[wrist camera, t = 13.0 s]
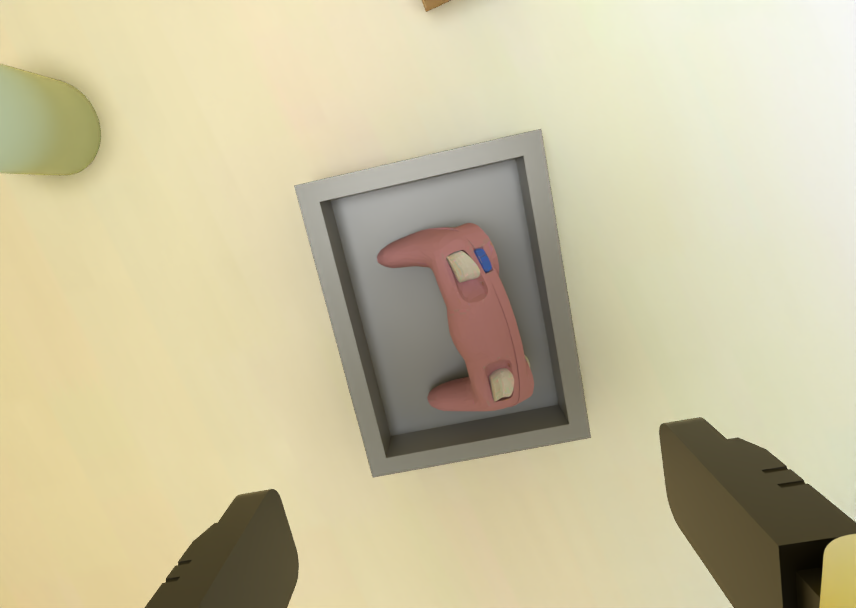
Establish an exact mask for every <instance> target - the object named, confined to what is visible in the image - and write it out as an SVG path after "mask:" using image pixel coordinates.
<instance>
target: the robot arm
mask: <svg viewBox="0 0 856 608" xmlns="http://www.w3.org/2000/svg"><path fill="white" fill-rule="evenodd" d="M659 435H660V444H661V452H662V460H663V468H664V476H665V484H666V492H667V498H668V502H669V505H670V508H671V511H672V514H673V516H674V519H675V521H676V523H677V525H678V526H679V528H680V530H681V531H682V532H683V534H684V535H685V537H686V538H687V540H688V541H689V543H690V544H691V546H692V547H693V549H694V550H695V551H696V553H697V554H698V556H699V557H700V559H701V560H702V562H703V563H704V565H705V566H706V568H707V569H708V571H709V572H710V573H711V575H712V576H713V578H714V579H715V581H716V582H717V584H718V585H719V587H720V588H721V590H722V591H723V592H724V594H725V595H726V597H727V598H728V600H729V601H730V603H731V604H732V606H733V607H734V608H856V522H854V521H853V520H852V519H851V518H850V517H848V516H847V515H846V514H845V513H843V512H842V511H841V510H840V509H839V508H837V507H836V506H835V505H834V504H832V503H831V502H830V501H829V500H827V499H826V498H825V497H824V496H823V495H821V494H820V493H819V492H818V491H816V490H815V489H814V488H813V487H812V486H810V485H809V484H805V483H804V480H803V479H802V478H801V477H799V476H798V475H797V474H796V473H794V472H793V471H792V470H791V469H790V470H788V469H787V466H786V465H785V464H783V463H782V462H781V461H780V460H778V459H777V458H776V457H775V456H774V455H772V454H771V453H770V452H769V451H767V450H766V449H764V448H761V447H759V446H757V445H754V444H752V443H750V442H747V441H745V440H743V439H740V438H733V439H726V438H725V437H724V436H723V435H721V434H720V433H719V432H718V431H717V430H716V429H715V428H714V427H713V426H711V425H710V424H709V423H708V422H707V421H706V420H705V419H703V418H701V417H699V418H693V419H687V420H681V421H675V422H669V423H663V424H661V426H660V430H659ZM298 569H299V564H298V554H297V550H296V546H295V543H294V540H293V537H292V533H291V530H290V527H289V523H288V520H287V517H286V514H285V510H284V507H283V504H282V501H281V498H280V496H279V494H278V492H277V491H276V490H274V489H270V490H264V491H258V492H252V493H247V494H241V495H238V496H237V497H236V498H235V499H234V500H233V502H232V503H231V504H230V506H229V507H228V509H227V510H226V512H225V513H224V515H223V516H222V517H221V519H220V520H219V522H218V523H214V524H213V525H212V526H211V527H210V528H208V529H207V530H206V531H205V532H204V533H203V534H201V535H200V536H199V537H198V538H197V539H196V540H194V541H193V542H192V544H191V545H190V546H189V548H188V549H187V550H186V552H185V553H184V555H183V556H182V557H181V559H180V560H179V561H178V566H175V567H174V568H173V570H172V571H171V572H170V574H169V575H168V576H167V578H166V583H162V585H161V586H160V587H159V589H158V590H157V592H156V593H155V594H154V596H153V597H152V598H151V600H150V601H149V602H148V604H147V605H146V607H145V608H287V606H288V604H289V601H290V599H291V596H292V594H293V591H294V588H295V586H296V583H297V578H298Z"/></svg>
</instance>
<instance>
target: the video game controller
mask: <svg viewBox="0 0 856 608" xmlns="http://www.w3.org/2000/svg"><path fill="white" fill-rule="evenodd" d="M377 262H378V263H379V264H381V265H383V266H385V267H389V268H401V267H412V266H420V267H429V268H431V269H432V271H433V273H434V275H435V278H436V281H437V284H438V286H439V289H440V292H441V294H442V297H443V299H444V302H445V304H446V307H447V318H448V325H449V332H450V335H451V338H452V341H453V343H454V345H455V346H456V348H457V350H458V352H459V353H460V354H461V356H462V357H463V359H464V360H465V363H466V367H467V371H468V374H469V377H465V378H460V379H455V380H452V381H449V382H446V383H443V384H441V385H439V386H437V387H435V388H433V389H432V390H431V391H430V392H429V394H428V397H427V399H428V402H429V404H430V405H431V406H432V407H434V408H436V409H438V410H442V411H496V410H500V409H504V408H507V407H513V406H515V405H517V404H519V403H520V402H522V401H524V400H526V399H527V398H529V397H531V396H532V394H533V389H534V380H533V374H532V372H531V369H530V363H529V360H528V358H527V357H526V356H525V355H524V350H523V345H522V341H521V337H520V334H519V330H518V326H517V322H516V319H515V316H514V313H513V310H512V308H511V305H510V302H509V299H508V296H507V294H506V291H505V289H504V286H503V284H502V282H501V280H500V278H499V262H498V257H497V254H496V251H495V249H494V246H493V244H492V242H491V241H490V239H489V237H488V236H487V234H486V233H485V232H484V231H483V230H482V229H481V228H480V227H479V226H478V225H476V224H473V223H465V224H463V225H460V226H457V227H455V228H452V227H441V228H431V229H426V230H421V231H418V232H416V233H413V234H410V235H408V236H406V237H403V238H401V239H398V240H396V241H394V242H392V243H390V244H388V245H387V246H386V247H384V248H383V249H382V250H380V252H379V253H378V255H377Z"/></svg>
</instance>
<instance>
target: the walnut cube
mask: <svg viewBox="0 0 856 608" xmlns="http://www.w3.org/2000/svg"><path fill="white" fill-rule="evenodd" d="M448 1H451V0H422V2H423V5H424V8H425V10H426V12H427V11H429V10H431V9H433V8H436V7H438V6H440V5H442V4H444V3H446V2H448Z"/></svg>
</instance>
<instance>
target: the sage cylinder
mask: <svg viewBox="0 0 856 608" xmlns="http://www.w3.org/2000/svg"><path fill="white" fill-rule="evenodd" d="M100 139H101V130H100V124H99V120H98V117H97V115H96V112H95V110H94V108H93V106H92V105H91V103H90V102H89V101H88V99H87V98H86V97H85V96H84V95H83V94H82V93H81V92H80V91H79V90H77V89H76V88H74V87H73V86H71V85H69V84H67V83H65V82H62V81H59V80H56V79H52V78H49V77H45V76H42V75H38V74H35V73H31V72H28V71H24V70H21V69H17V68H14V67H10V66H6V65H3V64H0V173H8V174H35V175H72V174H75V173H78V172H80V171H82V170H83V169H85V168H86V167H87V166H88V165H89V164H90V163H91V162H92V161H93V160H94V158H95V156H96V154H97V152H98V149H99V146H100Z"/></svg>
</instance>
